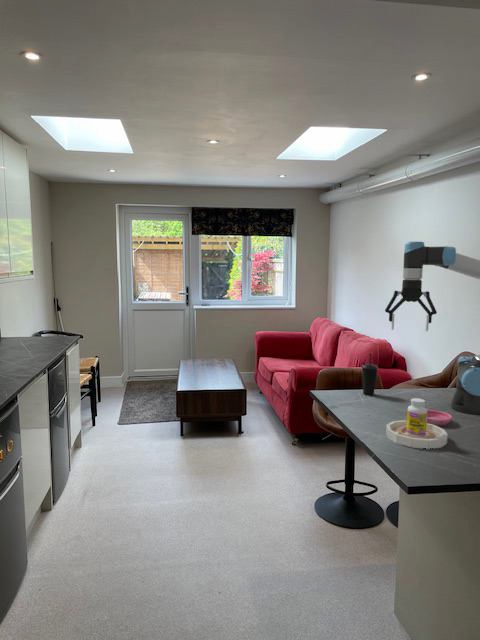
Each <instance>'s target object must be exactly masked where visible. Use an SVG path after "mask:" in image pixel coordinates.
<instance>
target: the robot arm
mask: <svg viewBox="0 0 480 640" xmlns="http://www.w3.org/2000/svg"><path fill="white" fill-rule="evenodd" d="M425 245H426V244H425V242H424V241H407V242H406V243H405V244H404V253H403V272H402V279H403V280H402V288H401V290H400V291H399V290H394V291H393V295H392V298H391V299H390V301H389V302H388V304H387V305H386V308H385V309H384V311H385V313H388V314H389V315H388V321H389V322H391V324H390V325H391V326H390V327H391V328H390V329H391V330H394V329H395V328H394V327H395V312H396V311H397V310H398V309H399V308H400V306H402V304H403V303H404V302H408V303H409V302H412V303H416V302H417V303H418V304H419V305H420V306H421V307H422V309H423V310H424V311H425V312H426V315H425V326H424V331H426V332H429V324H432V319H433V317H432V316H434V315H436V314H437V313H438V312H437V310H436V308H435V305H434V303H433V301H432V299H431V297H430V295H431V293H430V292H429V291H427V290H426V291H422V286H423V285H422V284H423V281H422V279H423V272H424V271H423V268H424V266H434V267H440V268H441V269H442V268H443V269H445V270H449V271H453V272H455V273H459V274H462V275H465V276H468V277H471V278H474V279H477V280H480V259H477V258H473V257H470V256H468V255H464V254H461V253H458V252H457V249H456V247H454V246H448V245H445V246H425ZM399 296H401V299H399V301H398V302H397V303H395V301H396V299H397V297H399ZM422 296H423V297H424V298H425V299H426V301H427V303H428V305H429V307H427V305H426V304H425V303H424V302H423V300H422V299H421V297H422ZM394 303H395V305H394V306H393V304H394ZM392 306H393V307H392ZM429 308H430V309H429ZM456 371H457V374H456V385H455V386H456V387H455V392H454V394H453V395H452V399H451V400H450V408H451V409H453V410H455V411H457V412H461V413H465V414H472V415H480V354H476V355H474V356H459V357H458V361H457V370H456Z"/></svg>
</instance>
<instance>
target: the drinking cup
mask: <svg viewBox="0 0 480 640" xmlns="http://www.w3.org/2000/svg"><path fill="white" fill-rule="evenodd" d="M368 360H369V361H368V362H369V363H366V364H362V365H361V372H362V373H361V374H362V394H363V395H364V394H365V395H364V396H367V395H370V397H372V396H374V394H375V390H376V389H375V387H376V381H377V380H376V379H377V374H378V369H379V367H378V366H377V365H375V364H374V363H372V353H371V352H370V353H369V359H368Z"/></svg>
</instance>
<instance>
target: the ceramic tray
mask: <svg viewBox="0 0 480 640" xmlns="http://www.w3.org/2000/svg"><path fill="white" fill-rule="evenodd" d="M406 426H407V419H404V420H402V419H401V420H392V421H391V422H389V423H387V424H386V425H385V427H386V428H385V434H386V437H387V439H389V440H391V441H392V442H394V444H395V443H396V444H398V445H401V446H405V447H409V448H415V449H423V448H426V449H425V450H431V449H432V448H433V449H440V448H443V447H444V446H445V445H447V444H448V433H447V431H446V429H444V428H441V427H440V426H436V425H433V424H428V423H427V425H426V435H425V436H424V437H415V436H410V435H408V434H407V433H406ZM430 448H431V449H430Z"/></svg>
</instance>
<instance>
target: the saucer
mask: <svg viewBox="0 0 480 640" xmlns="http://www.w3.org/2000/svg"><path fill="white" fill-rule="evenodd" d="M452 420H453V416H452V414H449V413H448V412H444V411H441V410H433V409H427V423H428V424H433V425H435V426H438V427H440V426H441V427H442V426H448V424H449V423H450V422H452Z"/></svg>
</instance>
